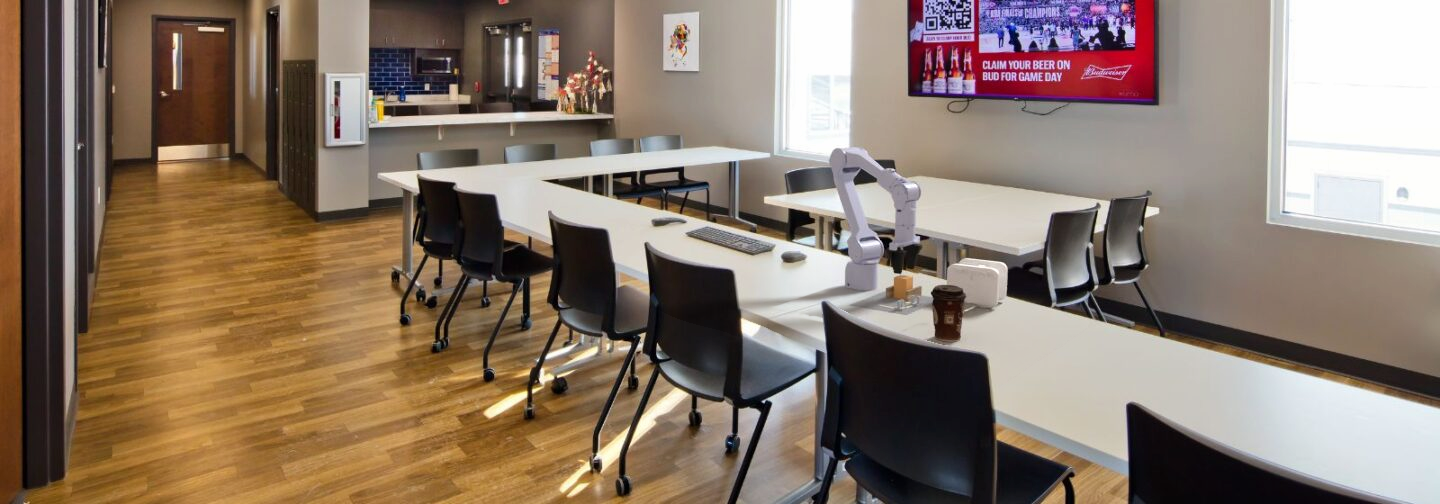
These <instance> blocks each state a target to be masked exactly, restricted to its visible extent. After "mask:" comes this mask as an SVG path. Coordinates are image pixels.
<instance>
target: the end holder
mask: <svg viewBox="0 0 1440 504" xmlns="http://www.w3.org/2000/svg"><path fill="white" fill-rule="evenodd" d="M922 290H923V289H922V285H919V286H915V287H913V289H910V290H908V291H906V302H909V301H911V300H912V295H915V299H916V298H917V296H920V297H921V295H922ZM885 291H886V298H887V299H889V298H891V297H894V284H893V285H891V286H889V287H885Z"/></svg>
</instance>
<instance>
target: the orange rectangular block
mask: <svg viewBox="0 0 1440 504" xmlns="http://www.w3.org/2000/svg"><path fill="white" fill-rule="evenodd" d="M893 285H894V298H899V299H906V291H908V290H910V289H913V288H914V287H913V286H914V277H913V276H911V275H906V274H905V275H904V274H898V275H897V276H894V277H893Z"/></svg>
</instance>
